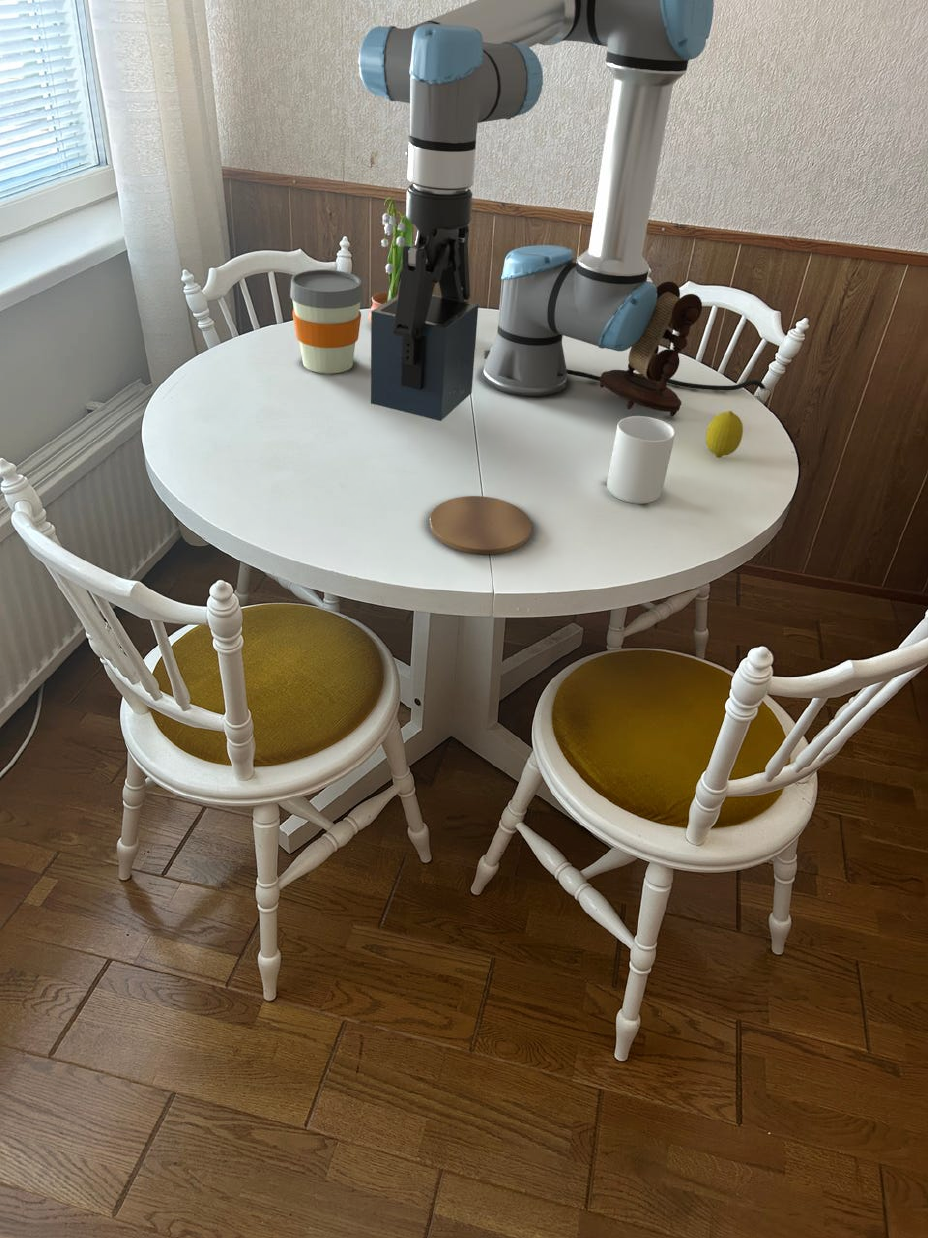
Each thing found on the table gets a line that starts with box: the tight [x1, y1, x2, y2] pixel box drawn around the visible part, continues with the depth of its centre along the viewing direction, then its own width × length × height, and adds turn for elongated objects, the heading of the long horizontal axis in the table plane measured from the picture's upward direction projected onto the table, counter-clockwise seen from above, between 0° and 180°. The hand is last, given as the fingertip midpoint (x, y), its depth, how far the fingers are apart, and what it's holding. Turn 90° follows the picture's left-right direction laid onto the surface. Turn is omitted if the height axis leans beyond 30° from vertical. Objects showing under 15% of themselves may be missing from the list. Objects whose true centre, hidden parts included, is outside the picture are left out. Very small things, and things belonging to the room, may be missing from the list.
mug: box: [606, 415, 676, 505], centre depth 136 cm, size 12×8×10 cm
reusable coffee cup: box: [289, 269, 363, 374], centre depth 164 cm, size 12×12×15 cm
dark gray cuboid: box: [370, 293, 479, 422], centre depth 118 cm, size 12×10×10 cm
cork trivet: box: [429, 495, 532, 555], centre depth 127 cm, size 14×14×1 cm
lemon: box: [705, 410, 744, 459], centre depth 147 cm, size 6×6×8 cm
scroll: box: [599, 281, 703, 418], centre depth 156 cm, size 15×15×20 cm
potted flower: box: [368, 196, 413, 323], centre depth 177 cm, size 12×10×25 cm
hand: (430, 372), depth 119 cm, fingers closed on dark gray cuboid, 10 cm apart
